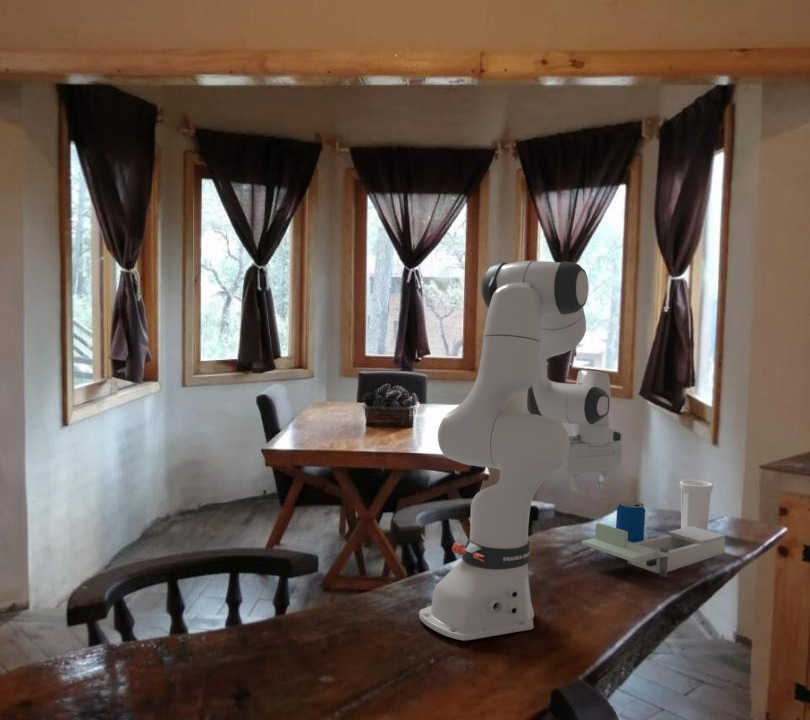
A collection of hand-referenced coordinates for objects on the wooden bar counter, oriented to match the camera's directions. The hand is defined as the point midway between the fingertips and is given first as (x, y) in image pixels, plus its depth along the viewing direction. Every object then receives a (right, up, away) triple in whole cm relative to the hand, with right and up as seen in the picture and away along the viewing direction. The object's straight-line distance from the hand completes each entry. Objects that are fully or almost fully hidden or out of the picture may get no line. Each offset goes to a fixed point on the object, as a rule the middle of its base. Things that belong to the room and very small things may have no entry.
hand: (588, 489), depth 186 cm
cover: (+3, -10, -21) cm, 23 cm away
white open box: (+18, -14, -13) cm, 26 cm away
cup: (+29, -14, +6) cm, 33 cm away
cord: (+18, -14, -13) cm, 26 cm away
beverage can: (+8, -14, -8) cm, 18 cm away
